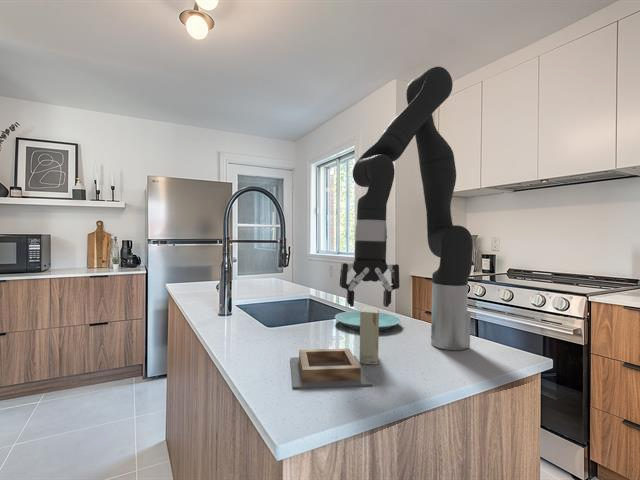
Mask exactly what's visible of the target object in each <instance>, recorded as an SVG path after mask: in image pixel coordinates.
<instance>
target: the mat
mask: <svg viewBox="0 0 640 480" xmlns="http://www.w3.org/2000/svg"><path fill="white" fill-rule="evenodd" d="M353 356H354V357H355V359H356V361H357V362H358V364H359V366H360V367H361V380H349V381H322V382H302V377H301V370H300V363H299V356H298V357H297V356H296V357H293V356H292V357H290V358H289V359H290V372H291V373H290V374H291V382H292V383H291V385H292V386H291V387H292V390H304V389H325V388H326V389H329V388H350V387H351V388H353V387H354V388H355V387H356V388H358V387H373V386H374V384H373V382H372V381H371V379H370V377H369V375H368V374H367V372H366V370H365V368H363V366H362V363H360V360H359V359H358V358H357V356H356V355H353ZM308 363H309V367H318V366H346V364H345V362H344V361H339V362H308Z"/></svg>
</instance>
